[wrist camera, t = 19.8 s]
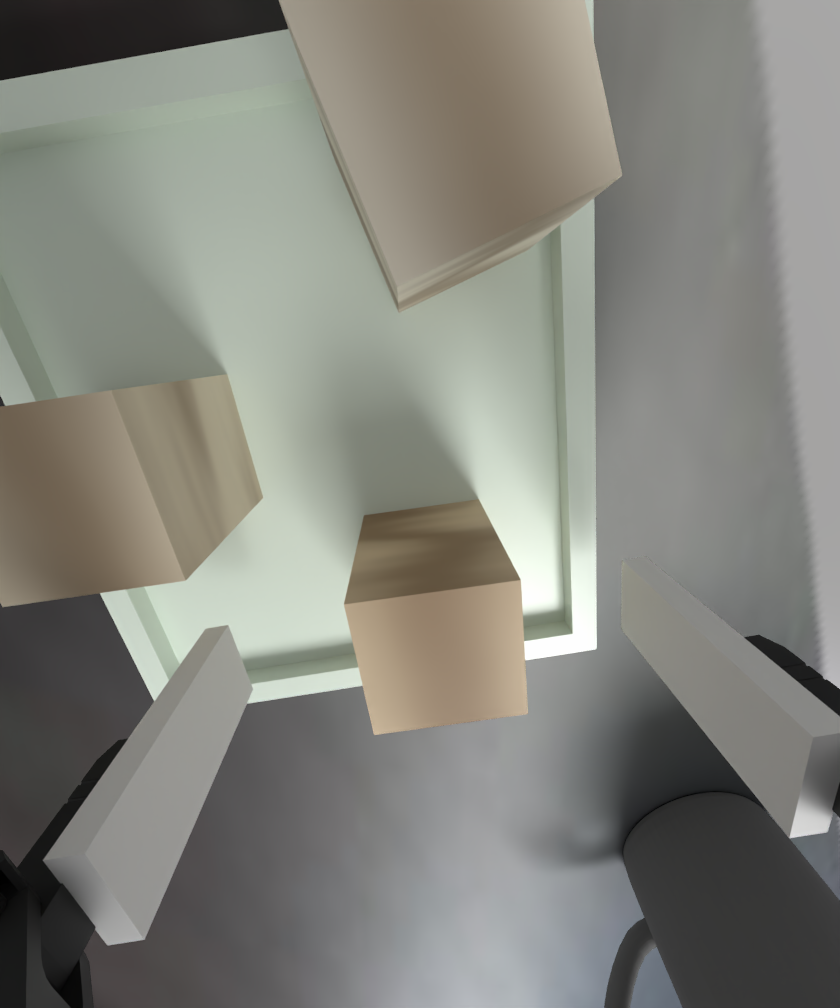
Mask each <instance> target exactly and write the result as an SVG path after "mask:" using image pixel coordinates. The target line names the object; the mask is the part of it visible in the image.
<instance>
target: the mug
mask: <svg viewBox="0 0 840 1008" xmlns="http://www.w3.org/2000/svg"><path fill="white" fill-rule="evenodd" d="M623 856H624V864H625V867H626V870H627V873H628V877H629V880H630V882H631V885H632V887H633V890H634V892H635V895H636V897H637V900H638V903H639V905H640V907H641V910H642V912H643V915H644V917H645V918H643V919H642V920H640V921H638V922H637V923H635V924H634V925H633V926H632V927H631V928H630V929H629V930H628V932H627V933H626V935H625V937H624V939H623V941H622V943H621V945H620V947H619V949H618V952H617V955H616V958H615V961H614V963H613V966H612V970H611V974H610V978H609V982H608V986H607V992H606V999H605V1006H604V1008H630V1004H631V999H632V994H633V989H634V985H635V982H636V978H637V975H638V971H639V969H640V967H641V964H642V962H643V960H644V958H645V956H646V955H647V954H648V953H649V952H650V951H651V950H652V949H654V948H656V947H657V948H658V951H659V953H660V955H661V958H662V960H663V963H664V965H665V967H666V970H667V972H668V974H669V977H670V979H671V981H672V984H673V986H674V988H675V991H676V993H677V995H678V998H679V1000H680V1003H681V1005H682V1007H683V1008H840V900H839V899H838V898H837V897H836V895H835V894H834V893H833V892H832V890H831V889H830V888H829V887H828V885H827V884H826V883H825V882H824V881H823V879H822V878H821V877H820V876H819V874H818V873H817V872H816V871H815V870H814V868H813V867H812V866H811V865H810V863H809V862H808V861H807V860H806V858H805V857H804V856H803V855H802V854H801V852H800V851H799V850H798V849H797V847H796V846H795V845H794V844H793V843H792V841H791V840H790V839H789V838H788V837H787V835H786V834H785V833H784V832H783V831H782V830H781V828H780V827H779V826H778V825H777V824H776V822H775V821H774V820H773V819H772V818H771V817H770V816H769V815H768V814H767V813H766V812H765V811H764V810H763V809H762V808H761V807H760V806H759V805H757V804H756V803H755V802H753V801H751V800H750V799H748V798H745V797H743V796H740V795H736V794H732V793H723V792H710V793H701V794H695V795H690V796H687V797H683V798H680V799H677V800H674V801H672V802H669V803H667V804H665V805H663V806H661V807H659V808H658V809H656V810H654V811H653V812H651V813H650V814H648V815H647V816H646V817H644V818H643V819H642V820H641V821H640V822H639V823H638V824H637V825H636V826H635V827H634V828H633V830H632V831H631V832H630V834H629V836H628V838H627V840H626V842H625V845H624V850H623Z"/></svg>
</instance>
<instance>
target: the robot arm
mask: <svg viewBox="0 0 840 1008" xmlns="http://www.w3.org/2000/svg"><path fill="white" fill-rule="evenodd" d="M621 629H622V631H623V632H624V633H625V634H626V636H627V637H628V638H629V639H630V641H631V642H632V643H633V644H634V646H635V647H636V648H637V649H638V651H639V652H640V653H641V654H642V656H643V657H644V658H645V659H646V661H647V662H648V663H649V664H650V665H651V667H652V668H653V669H654V670H655V672H656V673H657V674H658V675H659V677H660V678H661V679H662V680H663V682H664V683H665V684H666V685H667V687H668V688H669V689H670V690H671V692H672V693H673V694H674V695H675V697H676V698H677V699H678V700H679V702H680V703H681V704H682V705H683V706H684V708H685V709H686V710H687V711H688V713H689V714H690V715H691V716H692V718H693V719H694V720H695V721H696V723H697V724H698V725H699V726H700V728H701V729H702V730H703V731H704V733H705V734H706V735H707V736H708V738H709V739H710V740H711V741H712V743H713V744H714V745H715V746H716V747H717V749H718V750H719V751H720V752H721V754H722V755H723V756H724V757H725V759H726V760H727V761H728V762H729V764H730V765H731V766H732V767H733V769H734V770H735V771H736V772H737V774H738V775H739V776H740V777H741V779H742V780H743V781H744V782H745V784H746V785H747V786H748V787H749V789H750V790H751V791H752V792H753V793H754V795H755V796H756V797H757V798H758V800H759V801H760V802H761V803H762V805H763V806H764V807H765V808H766V810H767V811H768V812H769V813H770V815H771V816H772V817H773V818H774V820H775V821H776V822H777V823H778V825H779V826H780V827H781V828H782V830H783V831H784V832H785V833H786V834H787V836H788V837H789V838H793V837H800V836H806V835H812V834H819V833H825V832H828V829H829V826H830V822H831V819H832V815H833V812H835V813H836V814H837V815H838V816H839V817H840V689H839V688H837V687H836V686H835V685H833V684H832V683H831V682H830V681H828V680H824V679H823V676H822V675H820V674H819V673H818V672H816V671H815V670H814V669H813V668H811V667H810V666H806V664H805V662H803V661H802V660H801V659H799V658H798V657H797V656H795V655H794V654H793V653H792V652H790V651H789V650H788V649H786V648H785V647H783V646H781V645H779V644H777V643H775V642H773V641H771V640H768V639H766V638H764V637H762V636H760V635H755V636H749V637H743V636H742V635H740V634H739V633H738V632H737V631H735V630H734V629H733V628H732V627H731V626H729V625H728V624H727V623H726V622H725V621H723V620H722V619H721V618H720V617H718V616H717V615H716V614H715V613H714V612H712V611H711V610H710V609H709V608H708V607H706V606H705V605H704V604H703V603H702V602H700V601H699V600H698V599H697V598H695V597H694V596H693V595H692V594H691V593H689V592H688V591H687V590H686V589H685V588H683V587H682V586H681V585H680V584H678V583H677V582H676V581H675V580H674V579H672V578H671V577H670V576H669V575H668V574H666V573H665V572H664V571H663V570H662V569H660V568H659V567H658V566H657V565H655V564H654V563H653V562H652V561H651V560H649V559H648V558H647V557H646V556H643V557H637V558H631V559H625V560H622V604H621ZM252 691H253V687H252V685H251V682H250V680H249V677H248V675H247V672H246V669H245V667H244V664H243V662H242V659H241V657H240V654H239V651H238V649H237V646H236V644H235V641H234V638H233V636H232V633H231V631H230V628H229V626H228V625H225V626H219V627H213V628H207V629H205V630H204V632H203V633H202V634H201V636H200V637H199V639H198V640H197V641H196V643H195V644H194V646H193V647H192V649H191V650H190V651H189V653H188V654H187V656H186V657H185V659H184V660H183V661H182V663H181V664H180V666H179V667H178V669H177V670H176V671H175V673H174V674H173V676H172V677H171V679H170V680H169V681H168V683H167V684H166V686H165V687H164V689H163V690H162V691H161V693H160V694H159V696H158V697H157V698H156V700H155V701H154V703H153V704H152V706H151V707H150V708H149V710H148V711H147V713H146V714H145V716H144V717H143V718H142V720H141V721H140V723H139V724H138V726H137V727H136V728H135V730H134V731H133V733H132V734H131V736H130V737H129V738H128V739H123V740H118V741H117V742H116V743H115V744H114V745H113V746H112V747H111V748H110V749H108V750H107V751H106V752H105V753H104V754H103V755H102V756H101V757H100V758H99V759H98V760H97V761H96V762H95V764H94V765H93V766H92V768H91V769H90V770H89V772H88V773H87V774H86V776H85V777H84V778H83V780H82V781H81V782H82V783H81V785H78V786H77V788H76V789H75V790H74V792H73V793H72V795H71V796H70V797H69V799H68V803H67V804H64V805H63V807H62V808H61V809H60V811H59V812H58V813H57V815H56V816H55V817H54V819H53V820H52V821H51V823H50V824H49V826H48V827H47V828H46V830H45V831H44V832H43V834H42V835H41V836H40V838H39V839H38V840H37V842H36V843H35V844H34V846H33V847H32V848H31V850H30V851H29V853H28V854H27V855H26V857H25V858H24V859H23V861H22V862H21V863H20V865H19V866H18V867H17V868H16V866H15V865H14V864H13V863H12V861H11V860H10V859H9V858H8V856H7V855H6V854H5V853H4V851H3V850H0V1008H94V1006H93V995H92V985H91V975H90V965H89V961H88V958H87V956H86V954H85V952H84V949H85V947H86V945H87V943H88V941H89V939H90V937H91V935H92V934H93V932H94V930H96V931H97V932H98V934H99V935H100V936H101V938H102V939H103V940H104V942H105V943H106V944H107V945H113V944H120V943H126V942H133V941H139V940H145V937H146V935H147V933H148V930H149V928H150V926H151V923H152V921H153V919H154V916H155V914H156V912H157V910H158V907H159V905H160V903H161V900H162V898H163V896H164V893H165V891H166V889H167V887H168V884H169V882H170V880H171V877H172V875H173V873H174V870H175V868H176V866H177V863H178V861H179V859H180V857H181V854H182V852H183V850H184V847H185V845H186V843H187V840H188V838H189V836H190V833H191V831H192V829H193V827H194V824H195V822H196V820H197V817H198V815H199V813H200V810H201V808H202V806H203V804H204V801H205V799H206V797H207V794H208V792H209V790H210V787H211V785H212V783H213V780H214V778H215V776H216V774H217V771H218V769H219V767H220V764H221V762H222V760H223V757H224V755H225V753H226V751H227V748H228V746H229V744H230V741H231V739H232V737H233V734H234V732H235V730H236V727H237V725H238V723H239V721H240V718H241V716H242V714H243V711H244V709H245V707H246V704H247V702H248V700H249V698H250V695H251V693H252Z"/></svg>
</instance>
